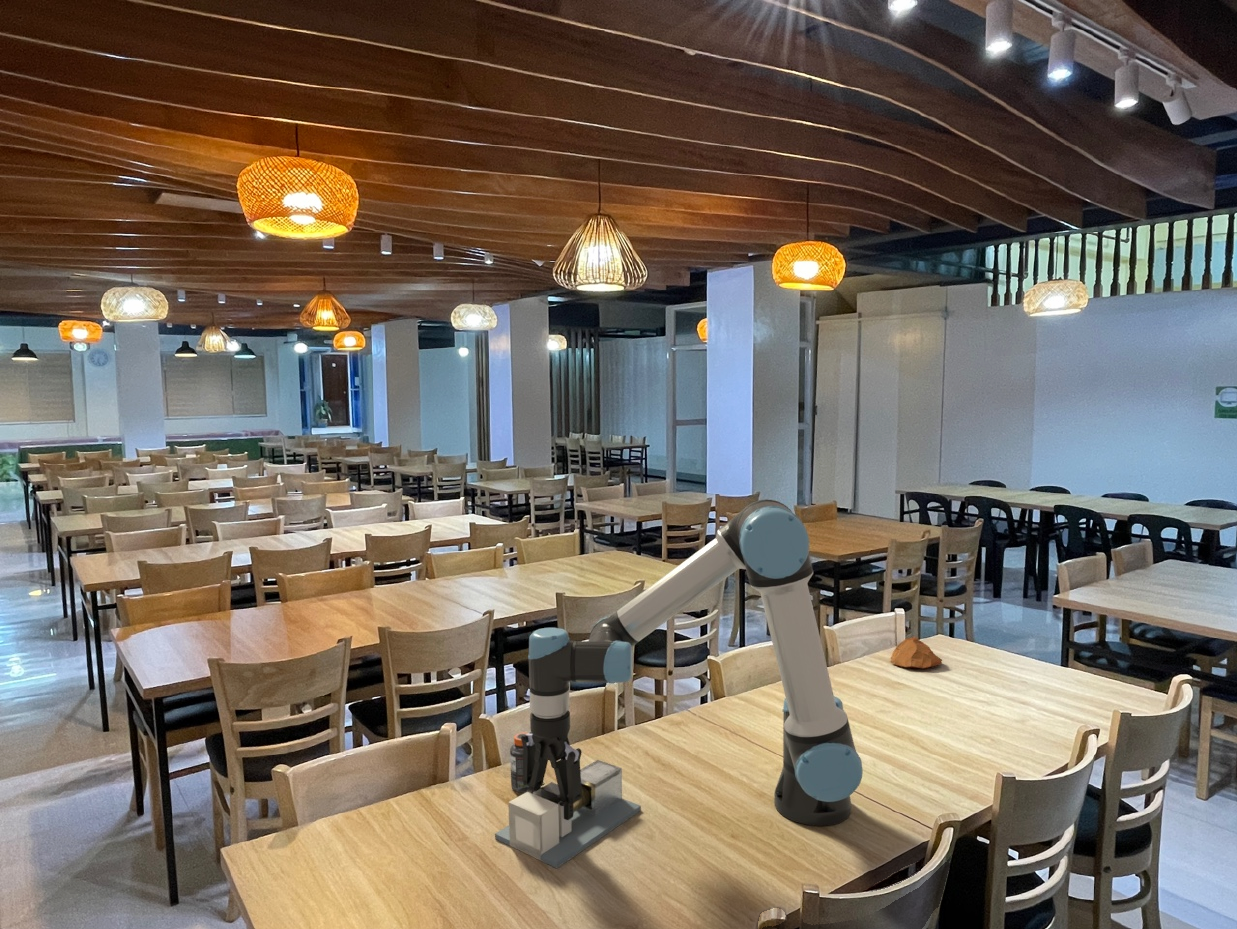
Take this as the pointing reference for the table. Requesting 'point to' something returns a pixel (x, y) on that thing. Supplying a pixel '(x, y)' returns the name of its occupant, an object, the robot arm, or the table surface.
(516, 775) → the pill bottle
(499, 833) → the board
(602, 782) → the sleeve
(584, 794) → the brass rod with grip
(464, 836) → the table surface
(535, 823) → the socket
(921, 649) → the stone
